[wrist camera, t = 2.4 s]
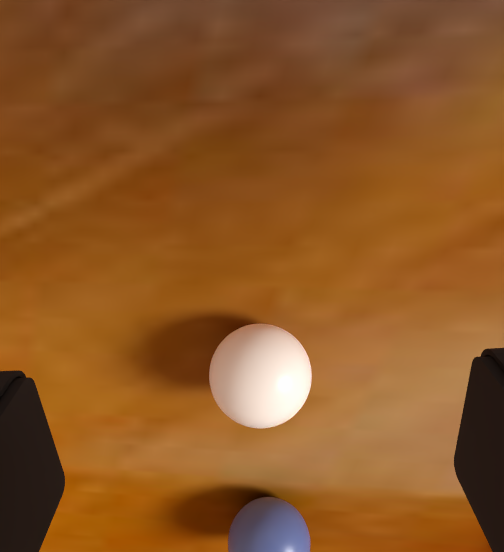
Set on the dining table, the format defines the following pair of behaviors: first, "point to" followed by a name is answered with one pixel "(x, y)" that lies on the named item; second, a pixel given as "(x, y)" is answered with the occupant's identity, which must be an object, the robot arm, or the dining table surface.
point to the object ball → (268, 528)
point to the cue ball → (260, 375)
